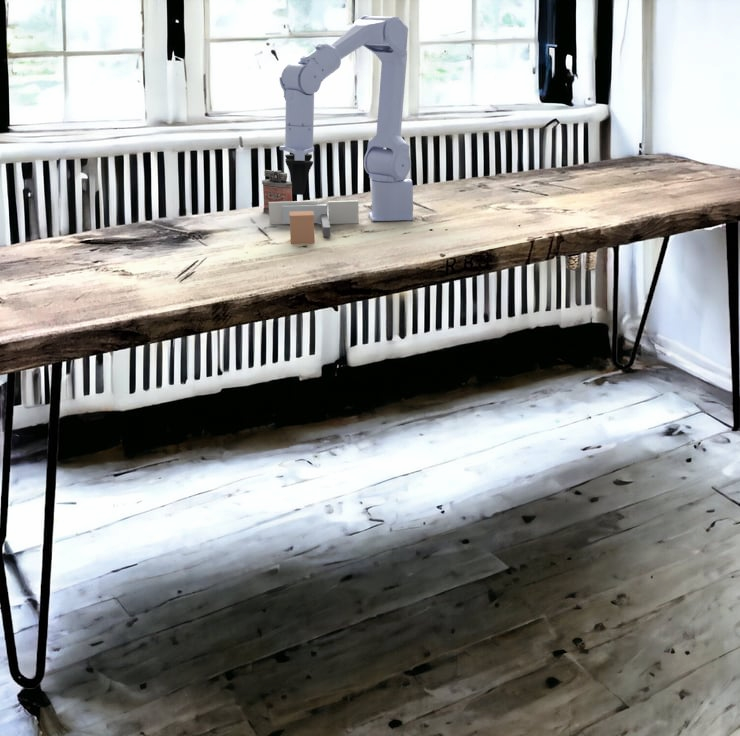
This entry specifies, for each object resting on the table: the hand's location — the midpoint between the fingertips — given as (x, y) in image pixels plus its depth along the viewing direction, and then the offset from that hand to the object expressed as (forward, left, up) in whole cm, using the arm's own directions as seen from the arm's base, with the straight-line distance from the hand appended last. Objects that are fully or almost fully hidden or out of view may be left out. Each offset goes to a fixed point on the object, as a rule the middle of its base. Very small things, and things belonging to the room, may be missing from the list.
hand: (298, 191), depth 215 cm
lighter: (+5, -26, -11) cm, 29 cm away
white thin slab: (-3, -15, -10) cm, 18 cm away
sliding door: (-1, -8, -10) cm, 13 cm away
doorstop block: (0, +1, -10) cm, 10 cm away
